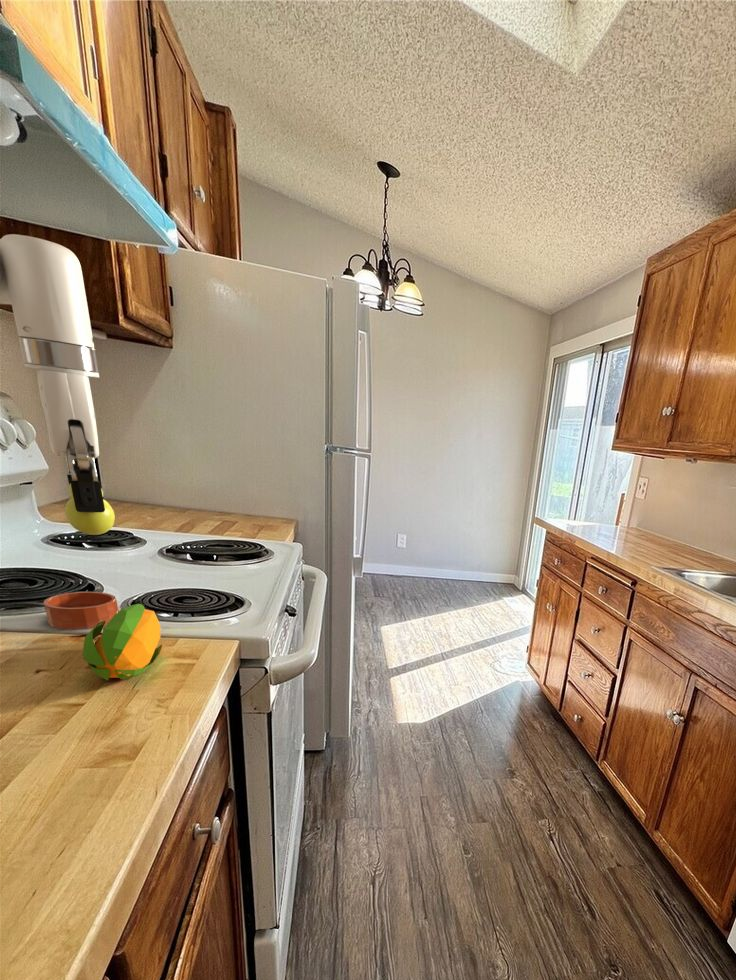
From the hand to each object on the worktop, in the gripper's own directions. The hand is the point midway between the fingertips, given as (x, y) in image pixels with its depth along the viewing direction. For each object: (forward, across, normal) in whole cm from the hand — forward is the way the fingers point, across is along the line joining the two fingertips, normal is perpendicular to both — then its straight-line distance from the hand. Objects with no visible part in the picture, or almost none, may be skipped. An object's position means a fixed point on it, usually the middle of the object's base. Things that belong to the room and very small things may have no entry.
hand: (88, 506), depth 77 cm
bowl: (+18, -2, -3) cm, 19 cm away
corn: (+18, +14, +1) cm, 23 cm away
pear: (+4, 0, 0) cm, 4 cm away
